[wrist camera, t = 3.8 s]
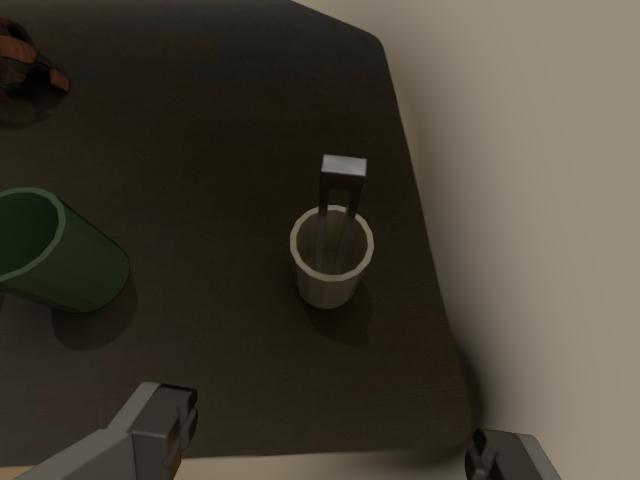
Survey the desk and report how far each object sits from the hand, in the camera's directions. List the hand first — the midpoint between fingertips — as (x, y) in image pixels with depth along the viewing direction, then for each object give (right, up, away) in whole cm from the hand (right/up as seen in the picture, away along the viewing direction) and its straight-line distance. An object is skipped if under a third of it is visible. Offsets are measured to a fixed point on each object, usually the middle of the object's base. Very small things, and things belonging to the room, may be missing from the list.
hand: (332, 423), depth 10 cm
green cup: (-24, +2, +24) cm, 34 cm away
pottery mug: (-39, +26, +35) cm, 58 cm away
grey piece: (0, +2, +24) cm, 24 cm away
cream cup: (0, +1, +25) cm, 25 cm away
